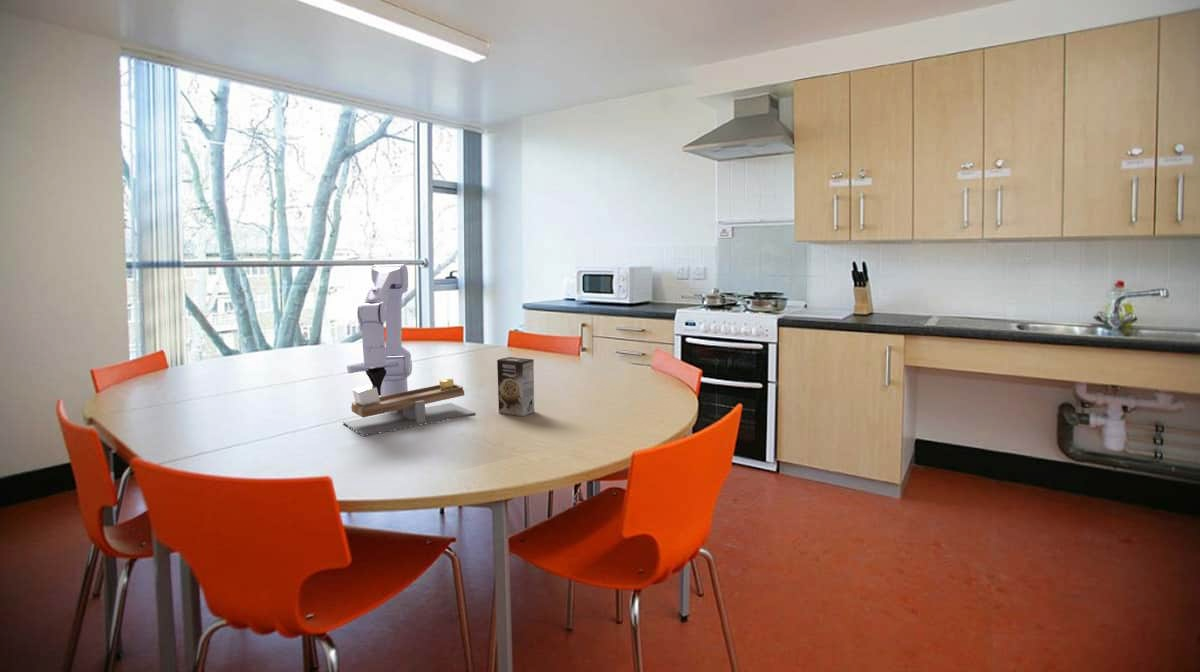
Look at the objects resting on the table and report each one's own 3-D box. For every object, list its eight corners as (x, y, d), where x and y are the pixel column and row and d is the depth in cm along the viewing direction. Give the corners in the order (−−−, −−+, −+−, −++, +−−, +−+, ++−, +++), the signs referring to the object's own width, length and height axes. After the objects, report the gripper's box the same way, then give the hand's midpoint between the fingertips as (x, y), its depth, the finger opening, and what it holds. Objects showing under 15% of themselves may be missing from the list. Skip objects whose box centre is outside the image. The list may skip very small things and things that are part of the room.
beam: (350, 410, 179) (349, 401, 179) (448, 389, 198) (448, 381, 197) (364, 418, 170) (363, 409, 170) (466, 396, 189) (465, 387, 188)
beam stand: (343, 424, 180) (341, 401, 179) (450, 404, 201) (449, 384, 200) (362, 436, 168) (361, 412, 167) (475, 414, 189) (474, 393, 188)
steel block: (356, 406, 177) (352, 389, 176) (374, 400, 180) (370, 384, 179) (362, 409, 173) (358, 392, 172) (380, 404, 176) (376, 386, 175)
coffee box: (497, 413, 190) (495, 359, 188) (510, 408, 196) (508, 356, 193) (523, 416, 186) (521, 361, 183) (535, 411, 191) (534, 358, 189)
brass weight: (438, 390, 191) (437, 380, 191) (450, 387, 194) (449, 378, 193) (443, 392, 188) (443, 382, 188) (456, 390, 190) (455, 380, 190)
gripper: (352, 351, 168) (355, 402, 170) (405, 345, 177) (408, 393, 179) (343, 348, 173) (346, 397, 175) (395, 342, 183) (398, 389, 184)
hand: (377, 395), depth 178 cm, fingers closed, pressing on steel block
